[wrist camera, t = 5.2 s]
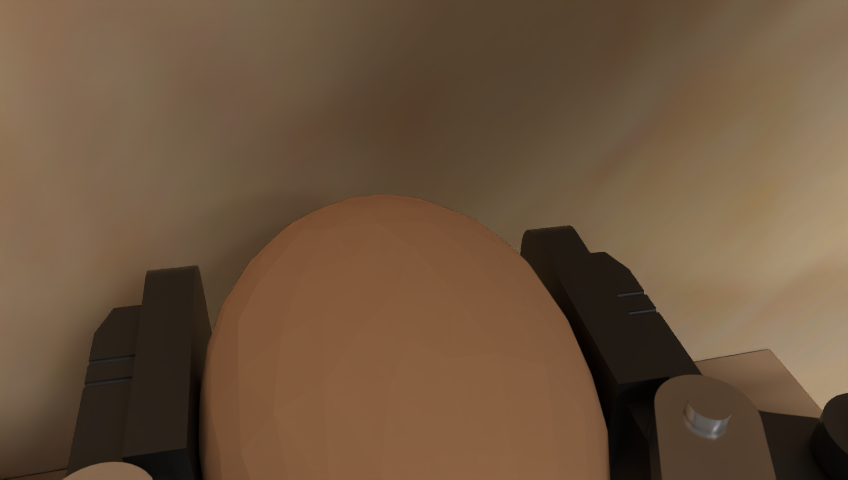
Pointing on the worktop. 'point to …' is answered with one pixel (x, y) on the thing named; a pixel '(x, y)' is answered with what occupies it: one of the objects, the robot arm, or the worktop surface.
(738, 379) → the egg rail
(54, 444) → the worktop surface
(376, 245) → the egg
